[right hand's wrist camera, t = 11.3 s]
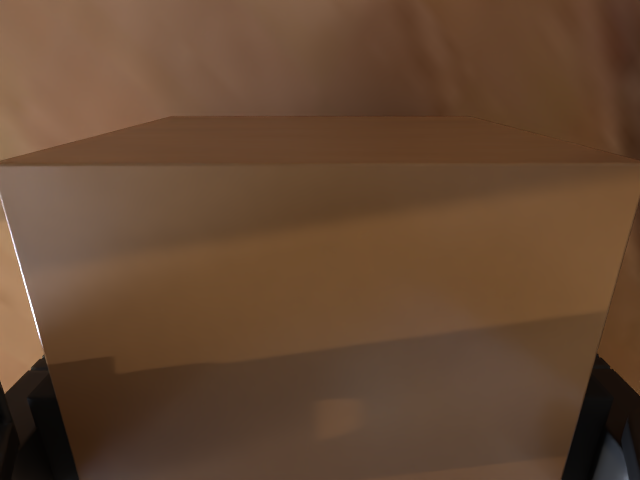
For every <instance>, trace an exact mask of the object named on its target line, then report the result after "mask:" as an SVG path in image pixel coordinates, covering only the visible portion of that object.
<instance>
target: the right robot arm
mask: <svg viewBox="0 0 640 480" xmlns="http://www.w3.org/2000/svg"><path fill="white" fill-rule="evenodd" d="M0 480H79V477H78V473H77V470H76V466H75V463H74V459H73V456H72V452H71V448H70V445H69V441H68V438H67V434H66V431H65V427H64V423H63V420H62V416H61V413H60V409H59V406H58V402H57V398H56V395H55V391H54V388H53V384H52V380H51V377H50V373H49V370H48V366H47V363H46V359H45V355H43V356H42V359H39V360H38V361H37V362H36V363H35V364H34V365H33V366H32V367H31V371H27V372H26V373H25V374H24V375H23V376H22V377H21V378H20V379H19V380H18V381H17V382H16V383H15V384H14V385H13V386H12V387H11V388H10V389H9V390H8V391H7V392H6V393H5V394H4V391H3V388H2V385H1V382H0ZM562 480H640V396H639V395H638V394H637V393H636V392H635V391H634V390H633V389H632V388H631V387H630V386H629V385H628V384H627V383H626V382H625V381H624V380H623V379H622V378H621V377H620V376H619V375H618V374H617V373H616V372H615V371H614V370H613V369H610V366H609V365H608V364H607V363H606V362H605V361H604V360H603V359H602V358H599V355H598V354H596V358H595V361H594V365H593V368H592V372H591V376H590V379H589V383H588V386H587V390H586V394H585V397H584V401H583V404H582V408H581V411H580V415H579V419H578V422H577V426H576V429H575V433H574V437H573V440H572V444H571V447H570V451H569V454H568V458H567V462H566V465H565V469H564V472H563V476H562Z"/></svg>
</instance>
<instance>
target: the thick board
mask: <svg viewBox="0 0 640 480" xmlns="http://www.w3.org/2000/svg"><path fill="white" fill-rule="evenodd" d="M0 198H1V202H2V205H3V209H4V212H5V216H6V219H7V223H8V227H9V230H10V234H11V237H12V241H13V245H14V248H15V252H16V255H17V259H18V262H19V266H20V270H21V273H22V277H23V280H24V284H25V287H26V291H27V295H28V298H29V302H30V305H31V309H32V312H33V316H34V320H35V323H36V327H37V330H38V334H39V338H40V341H41V345H42V348H43V352H44V355H45V359H46V363H47V366H48V370H49V373H50V377H51V380H52V384H53V388H54V391H55V395H56V398H57V402H58V406H59V409H60V413H61V416H62V420H63V423H64V427H65V431H66V434H67V438H68V441H69V445H70V448H71V452H72V456H73V459H74V463H75V466H76V470H77V473H78V477H79V480H562V476H563V472H564V469H565V465H566V462H567V458H568V454H569V451H570V447H571V444H572V440H573V437H574V433H575V429H576V426H577V422H578V419H579V415H580V411H581V408H582V404H583V401H584V397H585V394H586V390H587V386H588V383H589V379H590V376H591V372H592V368H593V365H594V361H595V358H596V354H597V351H598V347H599V343H600V340H601V336H602V333H603V329H604V325H605V322H606V318H607V315H608V311H609V308H610V304H611V300H612V297H613V293H614V290H615V286H616V283H617V279H618V275H619V272H620V268H621V265H622V261H623V257H624V254H625V250H626V247H627V243H628V240H629V236H630V232H631V229H632V225H633V222H634V218H635V214H636V211H637V207H638V204H639V200H640V161H639V160H636V159H632V158H628V157H624V156H620V155H616V154H613V153H609V152H605V151H601V150H597V149H593V148H589V147H586V146H582V145H578V144H574V143H570V142H566V141H563V140H559V139H555V138H551V137H547V136H543V135H540V134H536V133H532V132H528V131H524V130H520V129H516V128H513V127H509V126H505V125H501V124H497V123H493V122H490V121H486V120H482V119H478V118H474V117H470V116H171V117H167V118H163V119H159V120H155V121H151V122H148V123H144V124H140V125H136V126H132V127H128V128H125V129H121V130H117V131H113V132H109V133H105V134H102V135H98V136H94V137H90V138H86V139H82V140H79V141H75V142H71V143H67V144H63V145H59V146H56V147H52V148H48V149H44V150H40V151H36V152H33V153H29V154H25V155H21V156H17V157H13V158H10V159H6V160H2V161H0Z"/></svg>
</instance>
